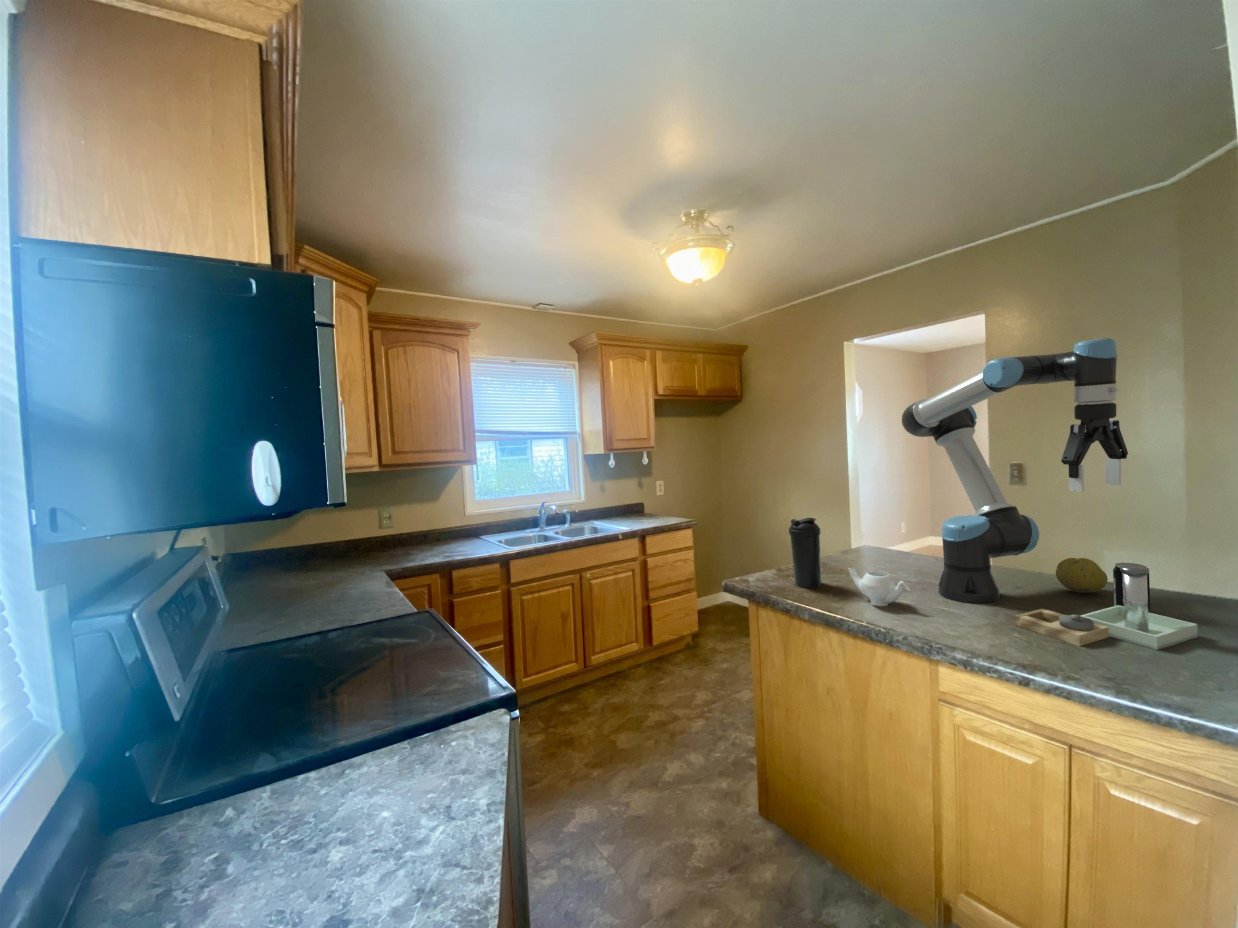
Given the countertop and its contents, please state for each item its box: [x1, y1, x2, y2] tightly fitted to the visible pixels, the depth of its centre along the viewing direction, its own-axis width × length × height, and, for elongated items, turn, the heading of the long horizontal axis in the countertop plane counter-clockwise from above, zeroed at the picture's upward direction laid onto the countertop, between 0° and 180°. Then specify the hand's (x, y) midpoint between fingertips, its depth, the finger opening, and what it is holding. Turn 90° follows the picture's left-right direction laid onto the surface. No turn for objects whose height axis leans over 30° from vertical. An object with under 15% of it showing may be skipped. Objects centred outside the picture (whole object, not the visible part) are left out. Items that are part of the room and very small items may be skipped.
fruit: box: [1055, 557, 1108, 594], centre depth 144 cm, size 11×12×10 cm
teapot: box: [847, 566, 912, 607], centre depth 149 cm, size 10×20×9 cm, turn 28°
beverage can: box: [1112, 562, 1151, 613], centre depth 129 cm, size 7×7×12 cm
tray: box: [1079, 605, 1199, 651], centre depth 118 cm, size 14×14×3 cm
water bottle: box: [788, 517, 822, 589], centre depth 172 cm, size 10×10×23 cm
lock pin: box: [1120, 565, 1150, 633], centre depth 117 cm, size 5×5×15 cm
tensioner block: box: [1014, 608, 1110, 647], centre depth 122 cm, size 14×10×5 cm
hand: (1095, 487), depth 125 cm, fingers open, 13 cm apart
